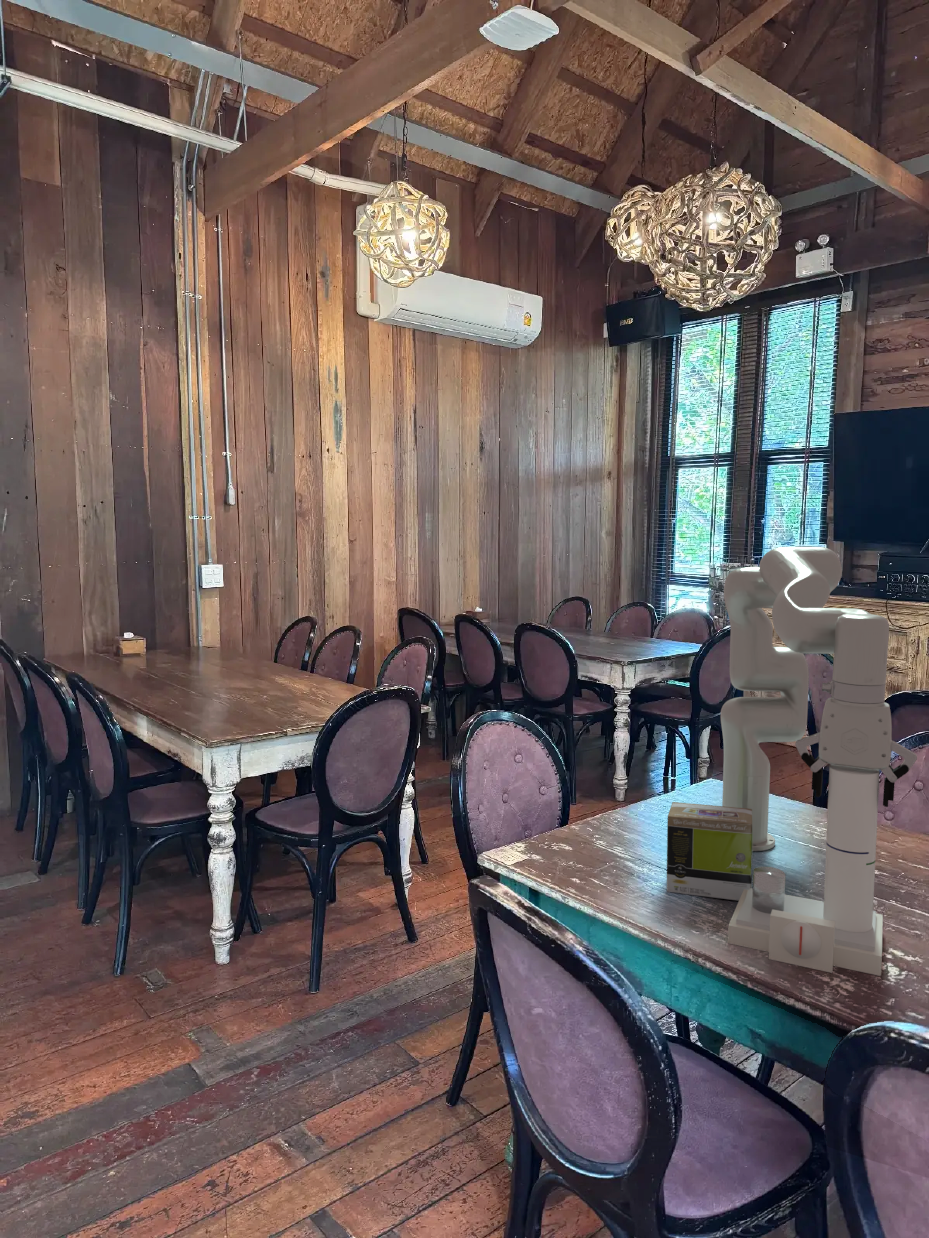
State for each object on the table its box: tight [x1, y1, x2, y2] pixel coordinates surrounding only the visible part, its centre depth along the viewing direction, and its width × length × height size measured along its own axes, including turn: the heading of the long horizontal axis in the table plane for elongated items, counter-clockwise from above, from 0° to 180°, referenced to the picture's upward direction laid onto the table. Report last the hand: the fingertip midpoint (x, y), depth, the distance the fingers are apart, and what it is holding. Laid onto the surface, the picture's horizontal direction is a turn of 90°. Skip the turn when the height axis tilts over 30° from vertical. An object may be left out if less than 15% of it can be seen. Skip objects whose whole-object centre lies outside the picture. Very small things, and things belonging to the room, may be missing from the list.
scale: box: [727, 887, 884, 977], centre depth 134 cm, size 22×19×7 cm
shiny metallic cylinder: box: [752, 866, 786, 914], centre depth 137 cm, size 5×5×6 cm
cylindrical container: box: [823, 764, 880, 932], centre depth 131 cm, size 7×7×25 cm
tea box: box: [666, 801, 753, 902], centre depth 154 cm, size 15×10×15 cm
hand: (851, 799), depth 131 cm, fingers open, 9 cm apart
